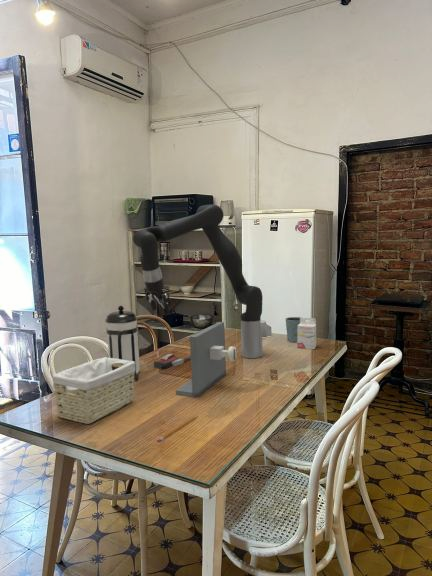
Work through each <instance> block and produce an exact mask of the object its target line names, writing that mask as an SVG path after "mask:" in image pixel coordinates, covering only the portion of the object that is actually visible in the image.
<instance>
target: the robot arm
mask: <svg viewBox="0 0 432 576" xmlns="http://www.w3.org/2000/svg"><path fill="white" fill-rule="evenodd" d="M223 220H224V211H223V209H222V208H221V206H219V205H216V204H213V203H212V204H211V203H210V204H204V205H200V206H198V208H197V210H196V212H195V214H192V215H188V216H185V217H180V218H176V219H172V220H170V221H167V222H164V223H162V224H159V225H155V226H149V227H145V228H141V229H139V230H137V231H136V232H135V233H133V237H132V241H133V244H135V246H136V247H139V248H140V249H141V252H142V253H141V255H140V258H139V260H140V265H141V271H142V276H143V281H144V285H145V287H144V288H143V291H144V296H145V300H146V301H148V302H149V303H150V307H151V311H156V310H157V309H158V306H157V303H158V304H159V305H161V307H162V310H163V315H164V316H168V315H170V310H169V307H171V306H172V303H171V299H170V298H171V297H170V293H168V292H165V291H164V290H163V289H164V287H165V285H164V284H165V283H164V278H163V274H162V273H163V272H162V270H161V267H160V262H159V258H158V253H159V252H158V251H159V249H158V246H159V245H158V242H160V243H164V242H165V243H166V242H168V241H171V240H174V239H176V238H179V237H181V236H183V235H186V234H189V233H191V232H195V231H197V230H200V229H201V230H202V231H203V232H204V235H206V237H207V239H208V240H209V243H210V244H211V247H212V248H213V250H214V252H215V254H216V256H217V258H218V260H219V262H220V264H221V266H222V268H223V270H224V272H225V273H226V276H227V278H228V280H229V281H230V284H231V286H232V289H233V291H234V294H235V297H236V300H238V302H239V303H240V304H241V305H245V311H244V312H242V313H241V314H240V335H241V336H240V338H241V340H240V342H241V347H240V348H241V357H242V358H245V359H259V358H261V357H263V355H264V354H263V351H264V350H263V349H264V348H263V338H262V336H261V320H262V319H261V317H262V314H263V292H262V290H261V288H259V286H255V285H249V284H248V282H247V280H246V279H245V277H244V274H243V259H242V257H241V254H240V253H239V251H238V248H237V247H236V245H235V244H234V243H233V241H231V239H230V238H229V237H227V235H226V234H224V232H223V231H222V230H221V228H220V224H221V223H222V222H223ZM164 292H165V293H164Z"/></svg>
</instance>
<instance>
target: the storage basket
mask: <svg viewBox="0 0 432 576" xmlns="http://www.w3.org/2000/svg"><path fill="white" fill-rule="evenodd" d="M112 366H114V367H119V368H117V369H115V370H113V371H112ZM134 374H135V362H134V361H128V360H122V359H114V358H109V357H104V356H103V357H101V358H96V359H93V360H91V361H87V362H85V363H81V364H79V365H76V366H73V367H71V368H67V369H64V370H62V371H59V372H57V373H55V374H53V375H52V384H53V389H54V393H55V401H56V407H57V414H58V417H59V418H62V419H65V420H69V421H73V422H78V423H80V424H81V423H82V424H87V425H89V424H92V423H94V422H96V421H98V420H100V419H101V418H103V417H105V416H107V415H109V414H111V413H113V412H115V411H118V410H119V409H121V408H122V407H124V406H126V405H129V403H132V402H133V401H134V391H135V390H134V389H135V387H134V386H135V381H134Z"/></svg>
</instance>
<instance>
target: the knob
mask: <svg viewBox="0 0 432 576" xmlns="http://www.w3.org/2000/svg"><path fill="white" fill-rule="evenodd" d="M220 355H221V357H226V358H227V361H228V362H230V363H231V362H235V361H236V360H237V359H236V358H237V355H238V353H237V348H236V346H231V345H230V346H228V349H225V350H221V351H220Z"/></svg>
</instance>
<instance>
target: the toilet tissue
mask: <svg viewBox="0 0 432 576" xmlns="http://www.w3.org/2000/svg"><path fill="white" fill-rule="evenodd" d="M271 335H272V326H271V325H269V324H267V321H266V320H262V319H261V336H262V337H267V336H271ZM272 336H273V335H272ZM272 336H271V337H272Z"/></svg>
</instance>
